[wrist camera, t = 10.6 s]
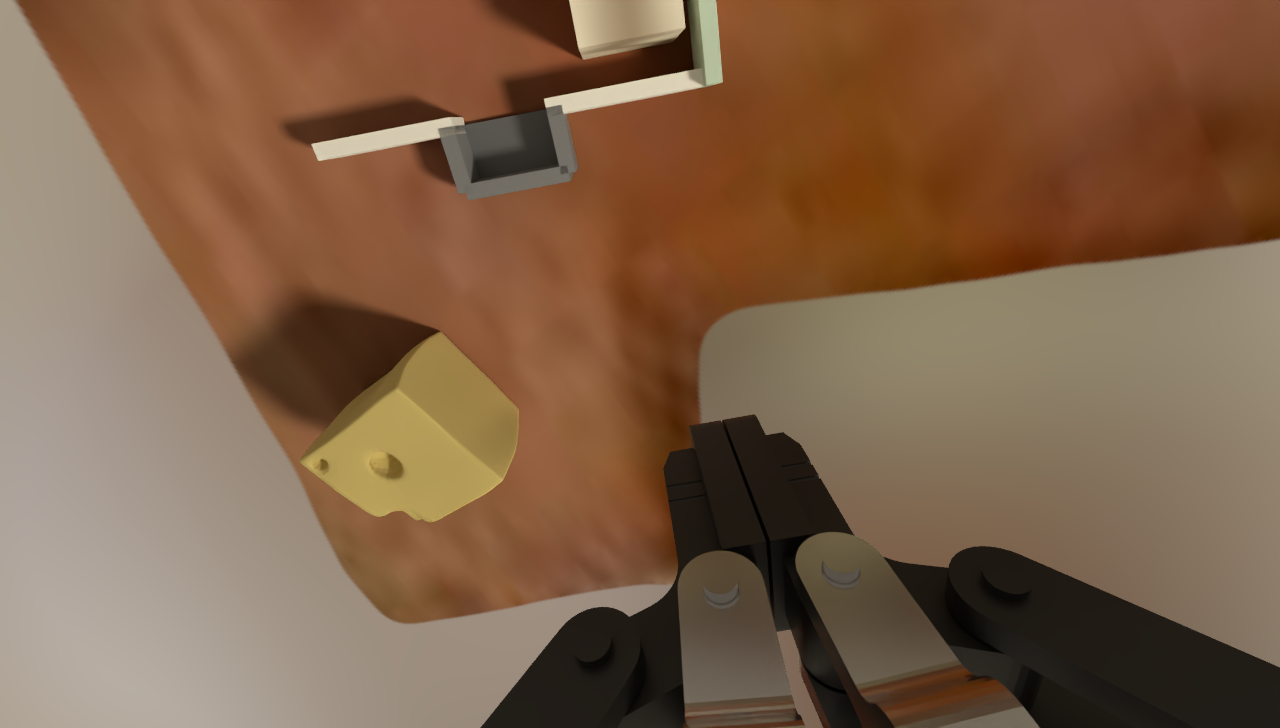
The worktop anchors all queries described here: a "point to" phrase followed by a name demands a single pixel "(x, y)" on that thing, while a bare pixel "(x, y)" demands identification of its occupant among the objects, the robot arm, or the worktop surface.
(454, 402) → the cheese
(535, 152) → the trap box
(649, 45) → the birch block
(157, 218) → the worktop surface
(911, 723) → the robot arm
